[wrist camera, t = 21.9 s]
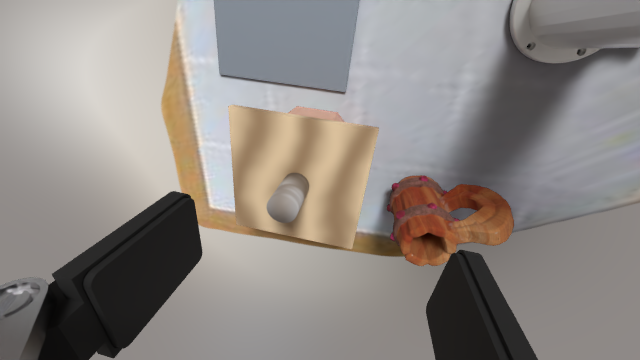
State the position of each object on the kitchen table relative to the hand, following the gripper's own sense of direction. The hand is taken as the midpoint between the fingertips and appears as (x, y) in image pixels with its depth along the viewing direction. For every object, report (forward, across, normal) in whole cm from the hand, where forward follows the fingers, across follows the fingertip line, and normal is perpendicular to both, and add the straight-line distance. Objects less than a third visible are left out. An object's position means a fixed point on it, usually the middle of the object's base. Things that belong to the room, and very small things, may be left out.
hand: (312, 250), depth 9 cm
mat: (+32, +12, -11) cm, 36 cm away
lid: (+22, +6, +10) cm, 25 cm away
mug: (+32, -14, +12) cm, 37 cm away
